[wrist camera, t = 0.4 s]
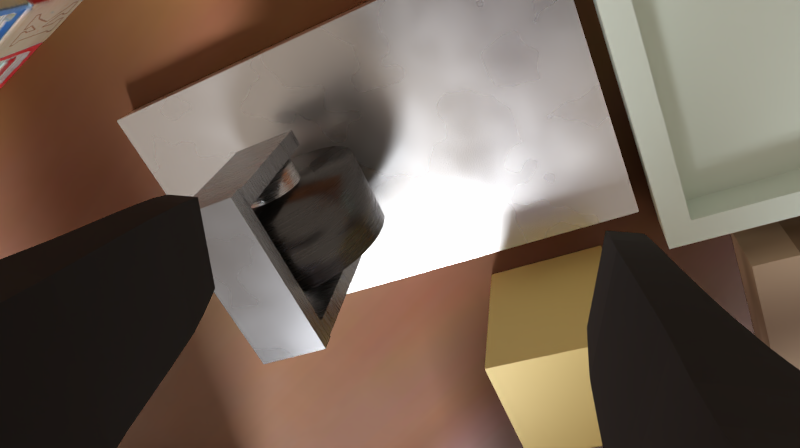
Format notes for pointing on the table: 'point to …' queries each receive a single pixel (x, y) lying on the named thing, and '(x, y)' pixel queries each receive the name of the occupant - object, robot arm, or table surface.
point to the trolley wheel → (385, 154)
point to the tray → (711, 108)
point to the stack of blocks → (27, 29)
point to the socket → (773, 283)
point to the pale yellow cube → (545, 350)
